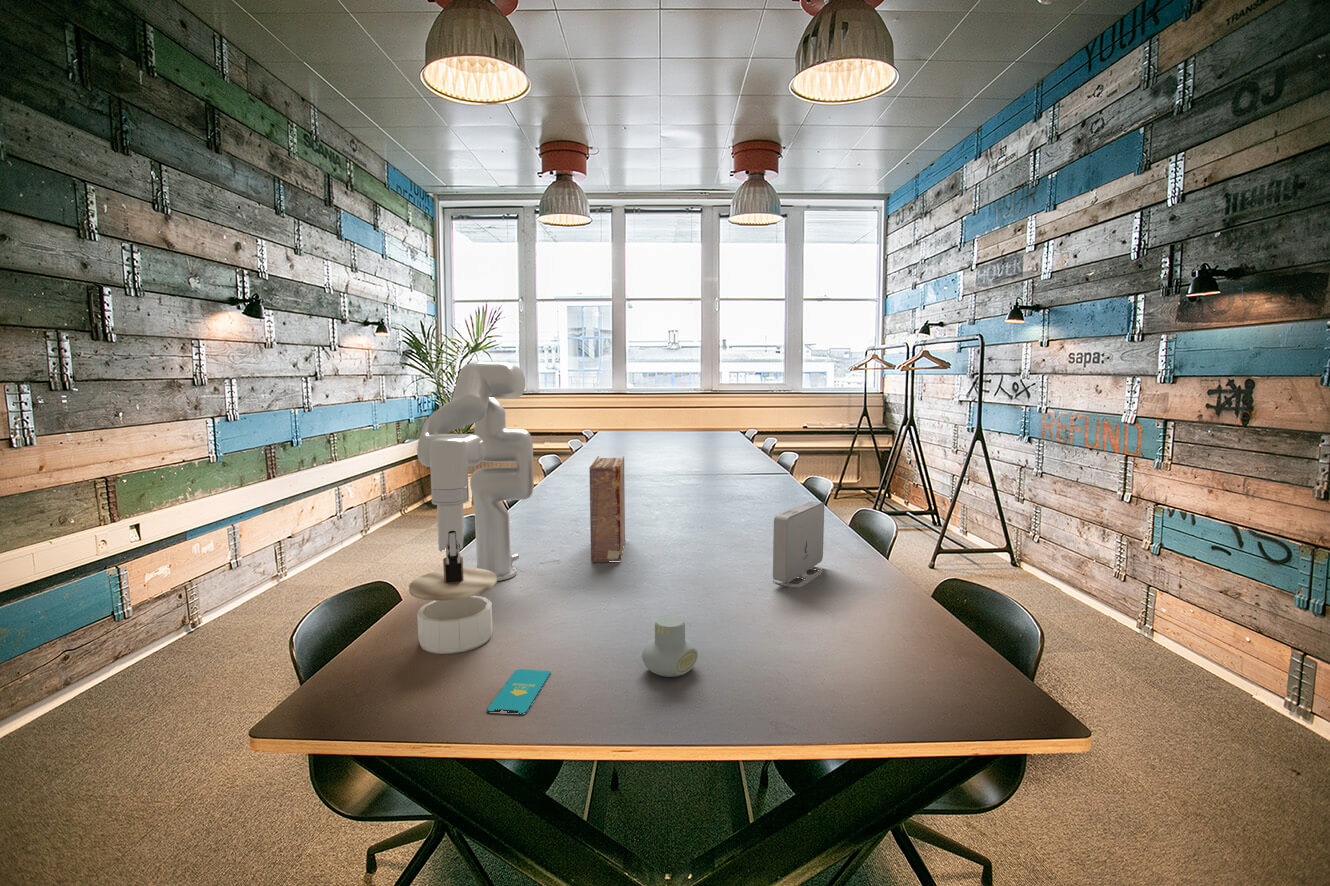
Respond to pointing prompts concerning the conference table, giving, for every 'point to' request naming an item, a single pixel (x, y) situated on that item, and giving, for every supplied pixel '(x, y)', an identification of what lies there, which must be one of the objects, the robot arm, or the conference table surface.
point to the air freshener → (669, 649)
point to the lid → (452, 584)
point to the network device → (798, 543)
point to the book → (607, 509)
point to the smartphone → (519, 691)
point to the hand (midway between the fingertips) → (453, 577)
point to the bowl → (455, 625)
